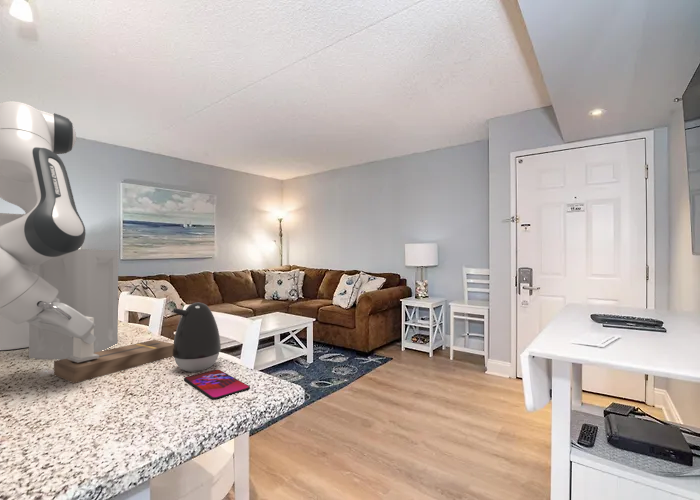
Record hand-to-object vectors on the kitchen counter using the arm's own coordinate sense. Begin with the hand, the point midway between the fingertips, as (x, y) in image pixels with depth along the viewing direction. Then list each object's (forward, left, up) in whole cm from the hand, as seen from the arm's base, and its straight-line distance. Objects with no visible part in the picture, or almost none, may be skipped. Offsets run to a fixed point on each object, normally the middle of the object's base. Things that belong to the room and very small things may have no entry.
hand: (87, 339), depth 76 cm
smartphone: (+27, +18, -8) cm, 33 cm away
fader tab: (0, -1, -4) cm, 4 cm away
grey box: (-22, +1, -8) cm, 23 cm away
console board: (-2, +7, -7) cm, 10 cm away
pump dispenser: (+14, +19, -8) cm, 25 cm away
